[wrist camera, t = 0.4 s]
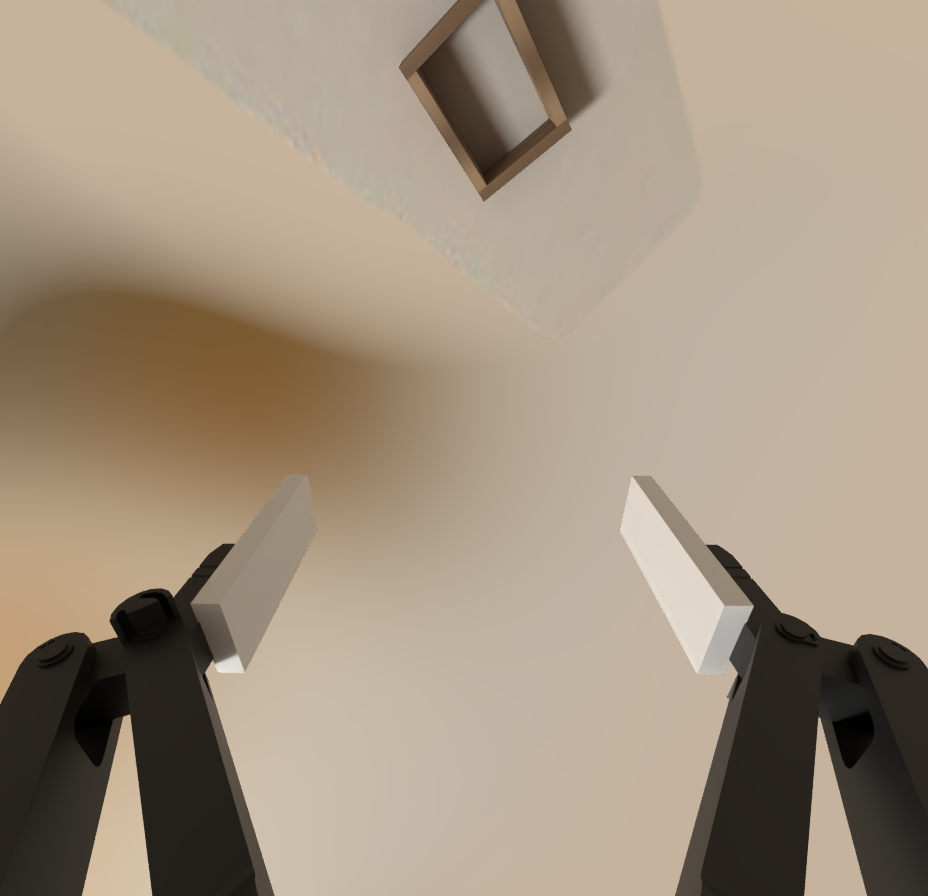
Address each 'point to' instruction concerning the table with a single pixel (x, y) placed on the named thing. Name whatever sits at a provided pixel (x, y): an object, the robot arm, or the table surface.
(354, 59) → the table surface
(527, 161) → the socket block
